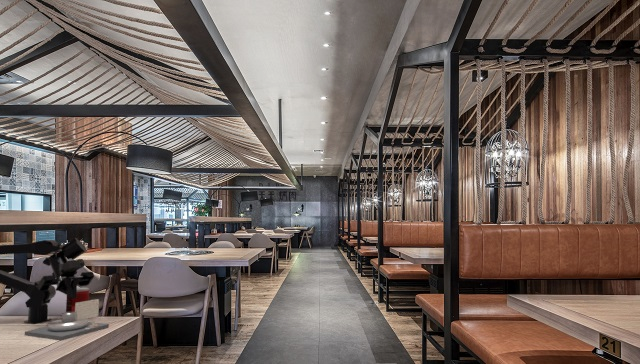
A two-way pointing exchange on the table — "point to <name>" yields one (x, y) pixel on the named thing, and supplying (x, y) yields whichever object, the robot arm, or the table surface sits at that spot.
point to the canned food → (77, 299)
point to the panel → (63, 335)
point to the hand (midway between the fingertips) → (74, 298)
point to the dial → (76, 316)
